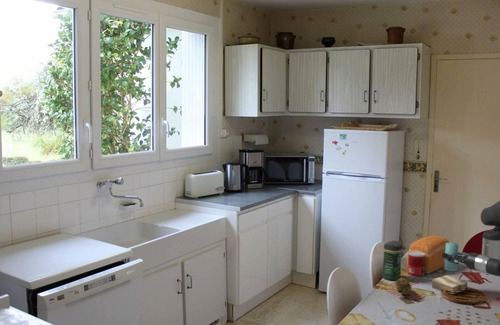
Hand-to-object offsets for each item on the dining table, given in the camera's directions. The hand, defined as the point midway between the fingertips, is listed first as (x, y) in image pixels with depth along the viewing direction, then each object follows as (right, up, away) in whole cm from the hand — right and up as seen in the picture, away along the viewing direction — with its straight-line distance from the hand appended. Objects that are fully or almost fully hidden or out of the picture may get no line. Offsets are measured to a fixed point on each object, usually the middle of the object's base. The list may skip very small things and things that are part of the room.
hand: (446, 254), depth 230 cm
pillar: (+1, -7, -1) cm, 7 cm away
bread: (+4, -13, +34) cm, 36 cm away
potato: (-23, -17, -8) cm, 29 cm away
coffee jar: (-22, -15, +14) cm, 30 cm away
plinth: (+1, -16, 0) cm, 16 cm away
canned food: (-8, -14, +20) cm, 26 cm away
